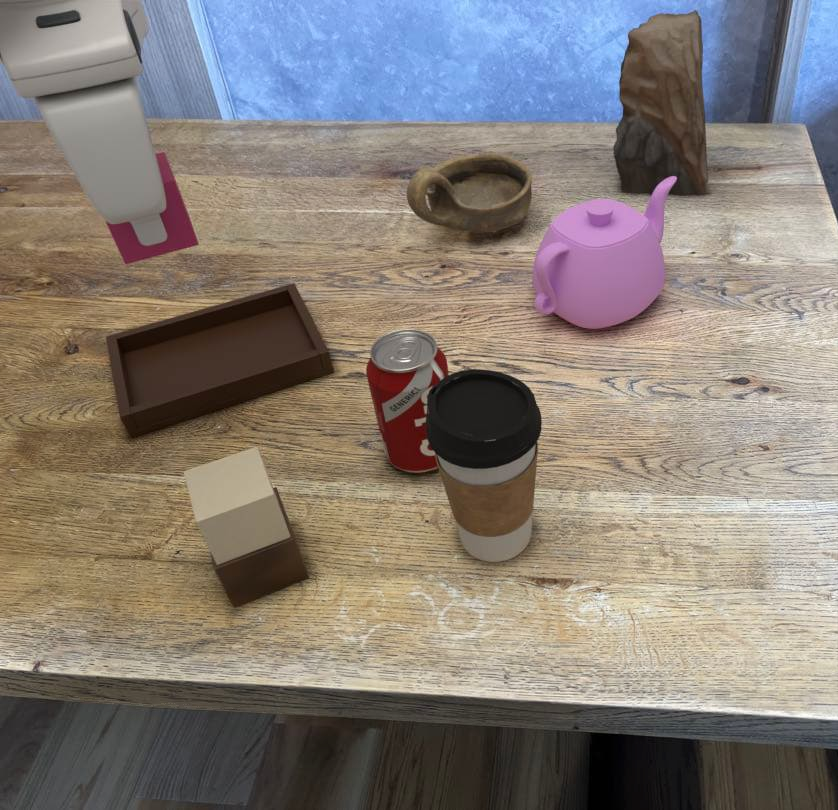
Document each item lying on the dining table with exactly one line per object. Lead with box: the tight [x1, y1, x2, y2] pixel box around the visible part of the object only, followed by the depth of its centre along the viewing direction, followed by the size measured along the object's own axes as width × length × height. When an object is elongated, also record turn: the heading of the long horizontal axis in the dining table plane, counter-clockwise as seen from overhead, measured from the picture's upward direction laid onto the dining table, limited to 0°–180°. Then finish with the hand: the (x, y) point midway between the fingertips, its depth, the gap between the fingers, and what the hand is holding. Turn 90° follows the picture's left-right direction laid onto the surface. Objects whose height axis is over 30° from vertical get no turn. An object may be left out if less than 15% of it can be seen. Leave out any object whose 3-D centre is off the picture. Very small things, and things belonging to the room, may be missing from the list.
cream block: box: [183, 446, 290, 565], centre depth 61 cm, size 6×6×5 cm
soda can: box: [365, 328, 450, 474], centre depth 71 cm, size 7×7×12 cm
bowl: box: [406, 152, 533, 234], centre depth 101 cm, size 14×18×10 cm
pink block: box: [105, 151, 200, 265], centre depth 57 cm, size 5×5×5 cm
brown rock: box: [612, 9, 709, 196], centre depth 107 cm, size 13×13×20 cm
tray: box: [105, 282, 335, 439], centre depth 85 cm, size 20×14×3 cm
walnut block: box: [209, 486, 310, 609], centre depth 64 cm, size 6×6×5 cm
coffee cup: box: [425, 368, 543, 563], centre depth 63 cm, size 8×8×15 cm
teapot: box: [531, 176, 677, 330], centre depth 88 cm, size 20×13×12 cm, turn 130°
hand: (149, 218), depth 58 cm, fingers closed on pink block, 5 cm apart
